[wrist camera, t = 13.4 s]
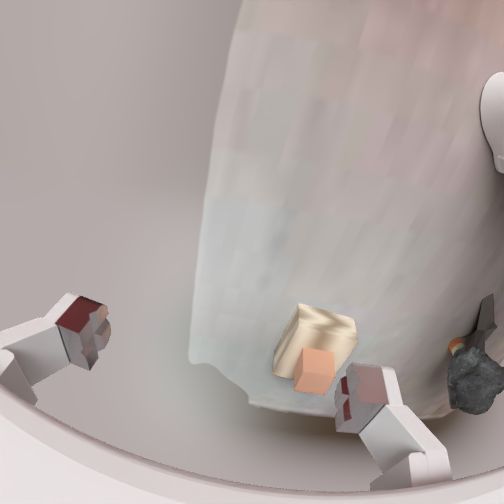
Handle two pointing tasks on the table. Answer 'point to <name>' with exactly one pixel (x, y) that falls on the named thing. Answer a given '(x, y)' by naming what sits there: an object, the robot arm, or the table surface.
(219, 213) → the table surface
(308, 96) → the table surface
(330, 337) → the birch block
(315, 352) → the terracotta cube
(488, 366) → the grey faceted figure
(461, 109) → the table surface
